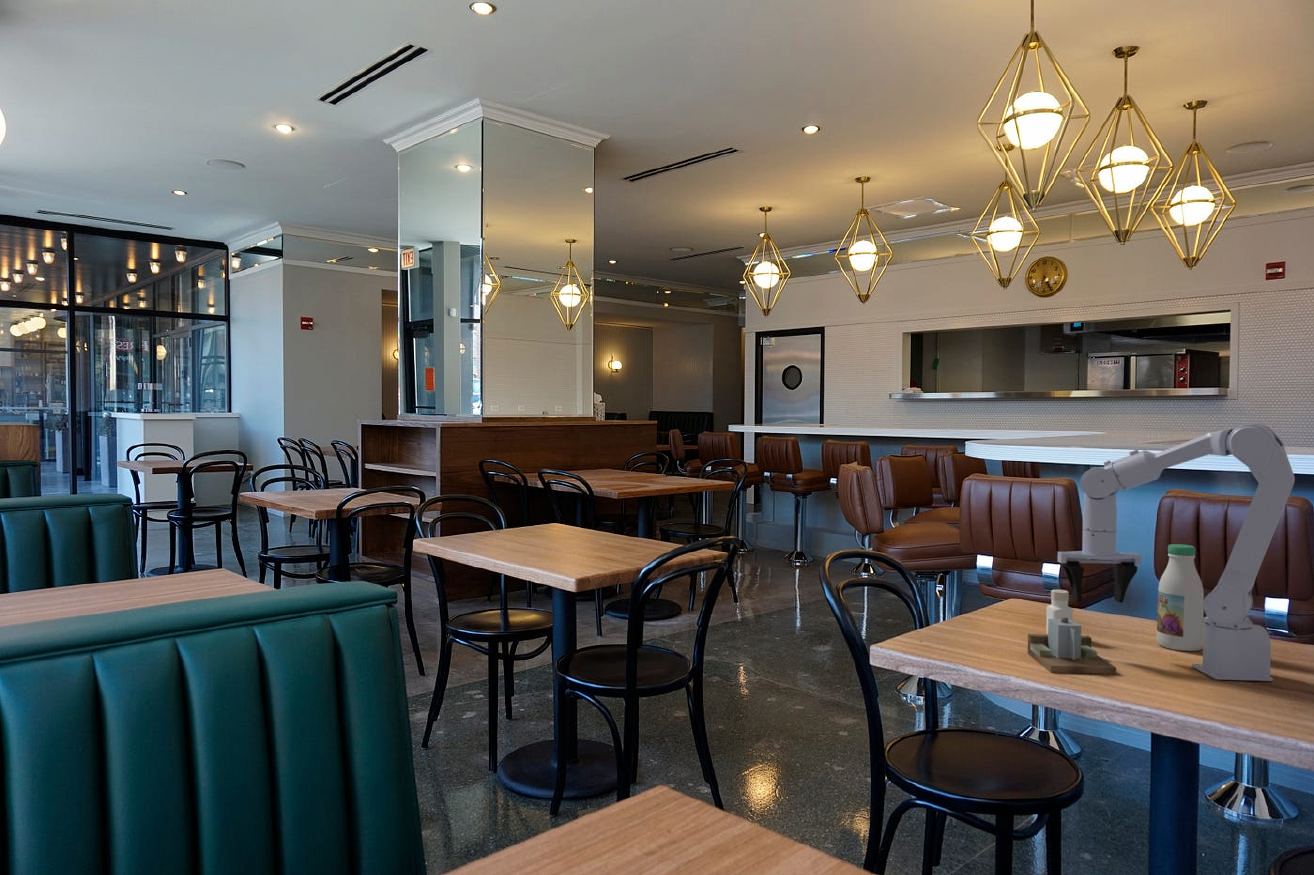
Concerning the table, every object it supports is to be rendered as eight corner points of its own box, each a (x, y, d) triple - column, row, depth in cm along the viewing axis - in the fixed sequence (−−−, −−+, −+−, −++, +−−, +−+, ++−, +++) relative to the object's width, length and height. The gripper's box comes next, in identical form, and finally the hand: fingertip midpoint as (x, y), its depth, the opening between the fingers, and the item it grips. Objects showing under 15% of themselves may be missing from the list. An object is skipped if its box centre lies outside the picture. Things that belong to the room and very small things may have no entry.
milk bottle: (1190, 642, 172) (1192, 542, 171) (1211, 652, 164) (1213, 548, 164) (1149, 641, 173) (1151, 542, 172) (1168, 651, 165) (1170, 548, 164)
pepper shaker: (1073, 640, 173) (1074, 593, 173) (1053, 639, 173) (1054, 593, 173) (1064, 634, 177) (1065, 589, 177) (1044, 634, 177) (1045, 589, 177)
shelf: (1087, 655, 162) (1088, 635, 162) (1115, 674, 150) (1116, 653, 150) (1027, 653, 163) (1028, 634, 163) (1050, 672, 151) (1051, 651, 151)
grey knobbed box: (1070, 651, 161) (1070, 615, 160) (1086, 662, 153) (1086, 624, 153) (1047, 650, 161) (1048, 614, 161) (1062, 661, 154) (1063, 624, 153)
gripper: (1129, 527, 167) (1128, 597, 167) (1052, 526, 168) (1050, 595, 168) (1146, 533, 160) (1145, 605, 160) (1066, 531, 161) (1064, 603, 161)
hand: (1098, 601), depth 164 cm, fingers open, 7 cm apart
